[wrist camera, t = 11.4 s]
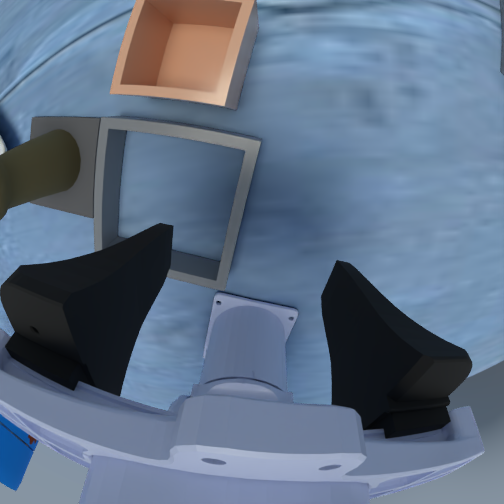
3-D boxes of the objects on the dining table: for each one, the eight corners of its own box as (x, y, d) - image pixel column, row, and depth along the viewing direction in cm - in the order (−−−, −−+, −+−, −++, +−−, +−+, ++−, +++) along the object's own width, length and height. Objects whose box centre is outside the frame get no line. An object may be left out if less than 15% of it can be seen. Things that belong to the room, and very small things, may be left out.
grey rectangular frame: (229, 271, 24) (224, 291, 22) (110, 241, 24) (94, 256, 21) (261, 138, 19) (260, 141, 16) (120, 115, 18) (101, 117, 16)
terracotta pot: (236, 110, 18) (224, 106, 13) (148, 97, 18) (109, 93, 12) (259, 27, 15) (255, -4, 10) (170, 19, 15) (139, -8, 9)
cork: (40, 192, 21) (-39, 239, 11) (36, 133, 18) (-53, 161, 8) (83, 191, 21) (-5, 246, 11) (80, 125, 18) (-21, 148, 8)
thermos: (84, 380, 36) (30, 499, 14) (39, 360, 36) (-17, 461, 13) (64, 335, 31) (-15, 473, 9) (18, 316, 31) (-59, 426, 8)
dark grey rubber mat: (96, 216, 22) (92, 218, 22) (33, 201, 22) (30, 202, 21) (103, 118, 18) (99, 118, 18) (36, 116, 18) (32, 117, 17)
